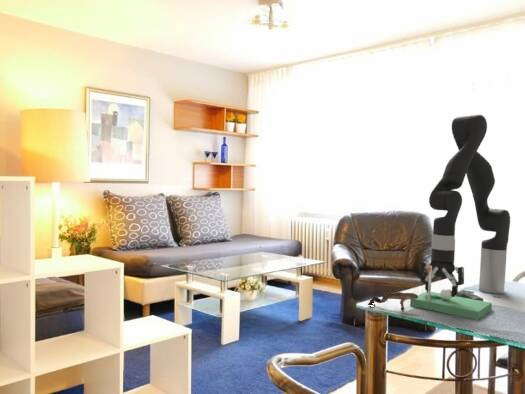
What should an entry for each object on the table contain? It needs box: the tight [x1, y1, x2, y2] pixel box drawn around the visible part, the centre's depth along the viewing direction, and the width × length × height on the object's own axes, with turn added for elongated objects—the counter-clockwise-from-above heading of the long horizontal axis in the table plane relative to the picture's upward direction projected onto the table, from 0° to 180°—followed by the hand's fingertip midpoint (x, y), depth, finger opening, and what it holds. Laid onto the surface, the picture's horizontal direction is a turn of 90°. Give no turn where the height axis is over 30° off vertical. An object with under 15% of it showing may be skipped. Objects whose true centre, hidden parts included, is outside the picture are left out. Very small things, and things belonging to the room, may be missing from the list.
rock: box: [456, 290, 484, 301], centre depth 170 cm, size 8×10×4 cm
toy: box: [367, 291, 418, 312], centre depth 157 cm, size 6×9×15 cm
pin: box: [426, 266, 432, 302], centre depth 157 cm, size 3×1×12 cm, turn 140°
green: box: [409, 291, 493, 320], centre depth 161 cm, size 16×22×2 cm
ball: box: [440, 287, 452, 300], centre depth 161 cm, size 4×4×4 cm
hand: (440, 294), depth 163 cm, fingers open, 8 cm apart
